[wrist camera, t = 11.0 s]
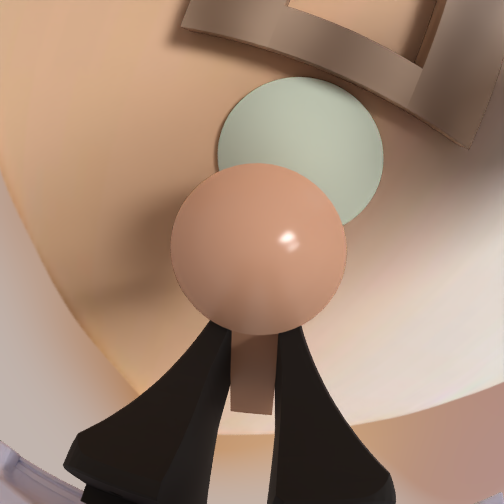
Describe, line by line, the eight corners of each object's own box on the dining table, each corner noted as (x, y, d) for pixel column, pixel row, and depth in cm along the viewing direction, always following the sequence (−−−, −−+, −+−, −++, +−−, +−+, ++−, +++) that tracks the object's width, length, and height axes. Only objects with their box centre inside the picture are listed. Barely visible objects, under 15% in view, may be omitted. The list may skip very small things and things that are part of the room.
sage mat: (406, 121, 14) (408, 122, 13) (339, 253, 18) (340, 256, 18) (249, 54, 13) (248, 53, 13) (200, 202, 18) (199, 204, 17)
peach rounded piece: (217, 168, 14) (169, 163, 8) (325, 172, 13) (353, 169, 8) (216, 340, 16) (184, 414, 10) (308, 347, 16) (315, 427, 10)
